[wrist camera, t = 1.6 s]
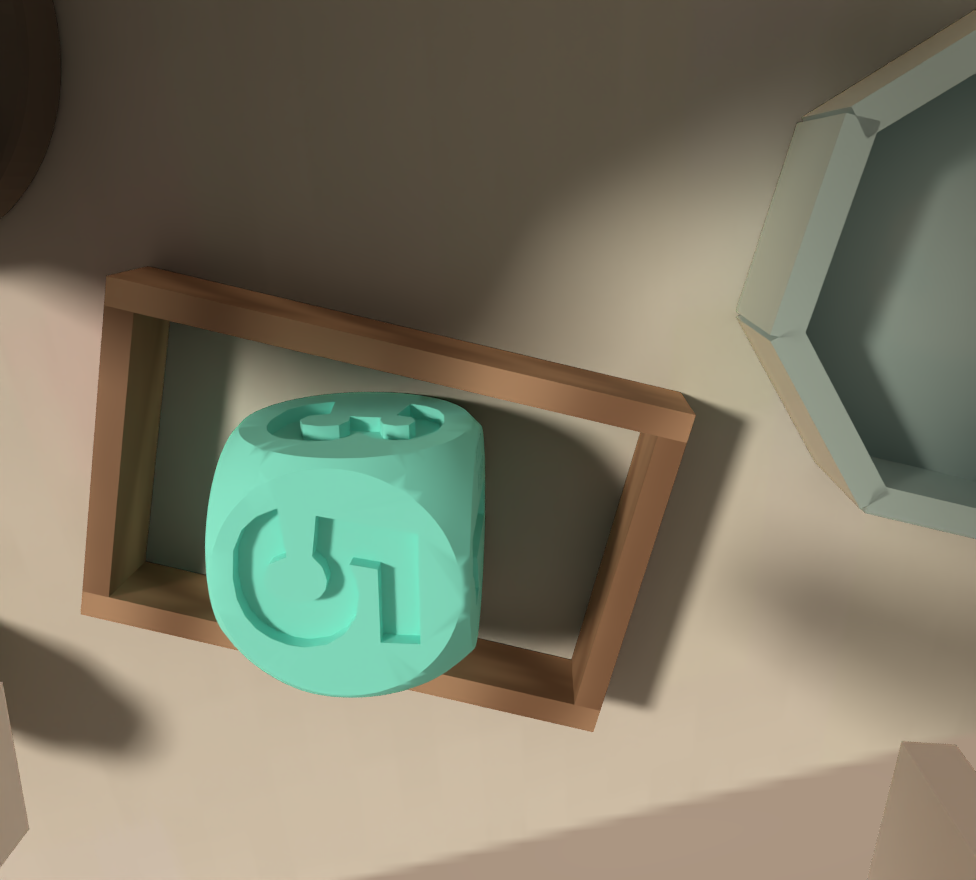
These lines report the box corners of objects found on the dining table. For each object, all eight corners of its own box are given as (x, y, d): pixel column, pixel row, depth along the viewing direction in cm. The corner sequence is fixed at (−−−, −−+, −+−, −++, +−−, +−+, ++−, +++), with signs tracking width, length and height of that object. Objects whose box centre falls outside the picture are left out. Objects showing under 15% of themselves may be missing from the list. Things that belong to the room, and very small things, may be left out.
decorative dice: (485, 584, 33) (469, 707, 25) (290, 578, 33) (216, 696, 26) (486, 392, 30) (468, 464, 23) (275, 388, 31) (189, 457, 23)
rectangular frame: (119, 577, 34) (80, 614, 31) (147, 266, 30) (106, 275, 27) (588, 685, 34) (593, 732, 31) (680, 392, 30) (695, 415, 27)
